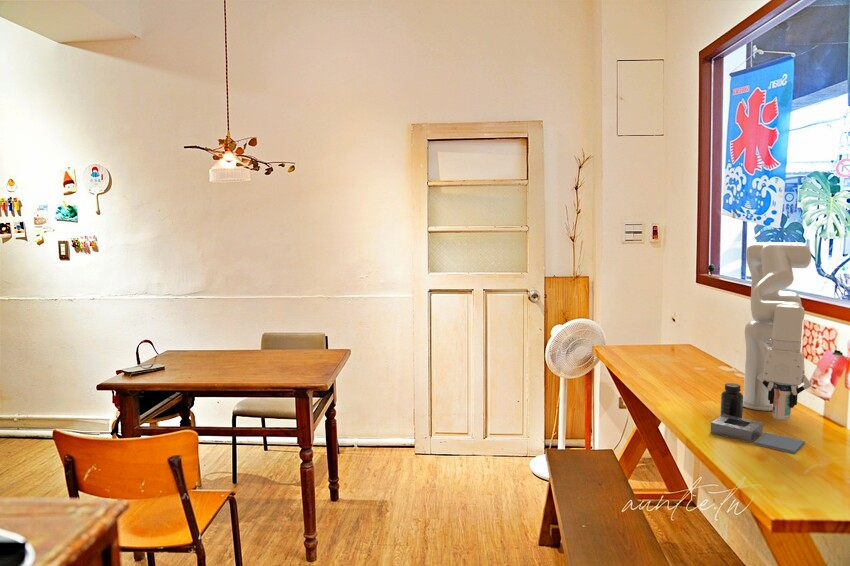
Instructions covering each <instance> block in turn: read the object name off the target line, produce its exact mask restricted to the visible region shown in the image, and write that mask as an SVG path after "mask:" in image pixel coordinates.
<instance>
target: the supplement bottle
mask: <svg viewBox="0 0 850 566" xmlns="http://www.w3.org/2000/svg"><path fill="white" fill-rule="evenodd" d="M743 395H744V394H743V393H741V384H739V383H733V382H729V383H728V382H727V383H725V384H724V391H722V392H721V395H720V413H719V414H720V416H722V415H723V414H725V415H730V416H735V417H740V418H743V411H744V407H743ZM720 416H719V417H720Z"/></svg>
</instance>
